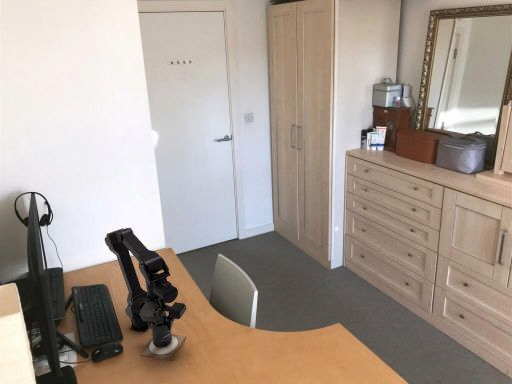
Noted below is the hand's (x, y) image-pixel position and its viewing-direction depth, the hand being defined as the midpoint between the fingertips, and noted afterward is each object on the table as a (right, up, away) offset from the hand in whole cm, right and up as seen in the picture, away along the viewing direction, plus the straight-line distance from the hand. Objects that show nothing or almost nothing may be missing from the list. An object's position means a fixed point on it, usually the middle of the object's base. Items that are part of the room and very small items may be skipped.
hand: (161, 328), depth 157 cm
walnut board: (0, -8, +3) cm, 8 cm away
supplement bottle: (0, -6, +2) cm, 6 cm away
